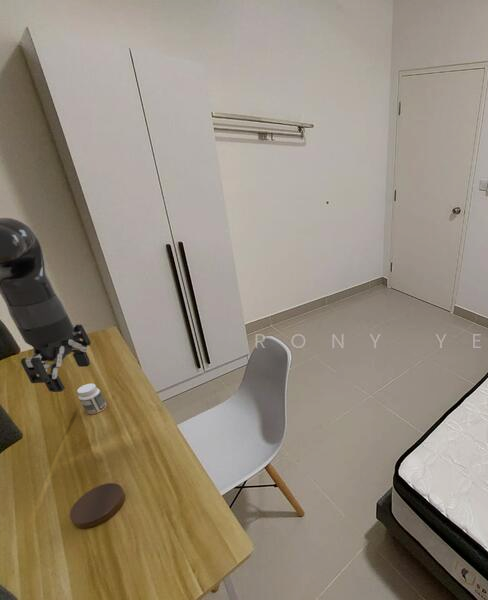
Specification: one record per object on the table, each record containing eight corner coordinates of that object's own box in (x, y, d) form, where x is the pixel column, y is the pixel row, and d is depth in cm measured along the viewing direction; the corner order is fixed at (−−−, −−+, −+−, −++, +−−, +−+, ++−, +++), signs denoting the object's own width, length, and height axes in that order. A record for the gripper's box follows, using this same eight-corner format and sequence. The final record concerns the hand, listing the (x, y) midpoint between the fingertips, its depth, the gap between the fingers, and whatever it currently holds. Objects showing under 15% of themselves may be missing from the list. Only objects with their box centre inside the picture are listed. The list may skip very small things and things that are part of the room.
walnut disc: (67, 536, 69) (64, 531, 68) (79, 498, 76) (76, 493, 75) (121, 516, 73) (118, 511, 72) (127, 482, 80) (125, 476, 79)
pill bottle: (103, 400, 101) (93, 380, 98) (109, 407, 99) (99, 387, 95) (84, 409, 98) (73, 388, 94) (89, 417, 96) (78, 396, 92)
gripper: (46, 301, 73) (75, 359, 81) (-13, 337, 61) (27, 401, 68) (85, 301, 74) (109, 357, 82) (35, 335, 62) (69, 399, 70)
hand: (72, 377), depth 75 cm, fingers open, 8 cm apart
